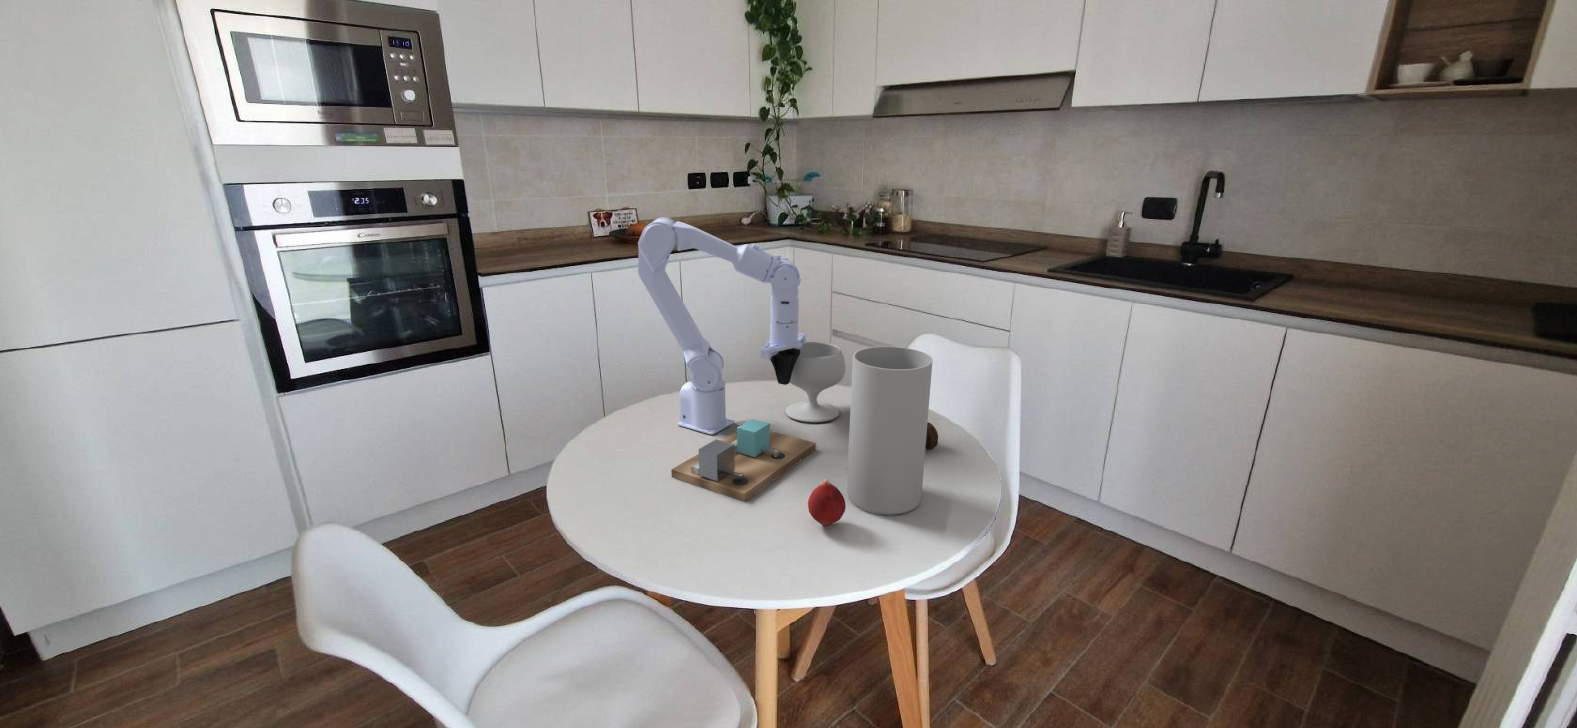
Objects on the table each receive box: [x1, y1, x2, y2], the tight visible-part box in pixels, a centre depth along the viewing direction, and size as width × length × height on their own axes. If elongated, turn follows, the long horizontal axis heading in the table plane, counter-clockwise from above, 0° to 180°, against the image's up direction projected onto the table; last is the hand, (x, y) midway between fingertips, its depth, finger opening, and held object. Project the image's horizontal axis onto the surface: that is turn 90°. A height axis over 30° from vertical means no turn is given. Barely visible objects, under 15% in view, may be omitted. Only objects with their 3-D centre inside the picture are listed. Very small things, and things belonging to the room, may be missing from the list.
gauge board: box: [670, 430, 817, 502], centre depth 125 cm, size 16×24×3 cm, turn 148°
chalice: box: [785, 341, 846, 423], centre depth 146 cm, size 14×14×15 cm
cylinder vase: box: [846, 345, 933, 516], centre depth 109 cm, size 12×12×25 cm
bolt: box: [925, 421, 939, 451], centre depth 129 cm, size 6×5×15 cm
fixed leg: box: [698, 438, 744, 481], centre depth 116 cm, size 8×5×5 cm, turn 58°
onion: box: [807, 478, 846, 527], centre depth 103 cm, size 6×6×8 cm
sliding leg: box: [736, 418, 779, 457], centre depth 125 cm, size 8×5×5 cm, turn 58°
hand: (783, 383), depth 140 cm, fingers closed
